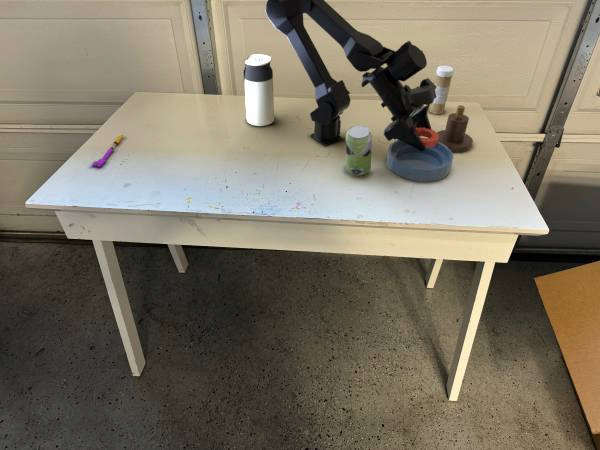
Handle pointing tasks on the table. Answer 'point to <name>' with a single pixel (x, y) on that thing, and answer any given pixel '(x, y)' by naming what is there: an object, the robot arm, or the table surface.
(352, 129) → the beverage can
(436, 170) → the dish
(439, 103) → the sprinkles bottle
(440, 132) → the ring stand
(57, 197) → the table surface
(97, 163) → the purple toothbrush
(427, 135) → the ring
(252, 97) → the travel mug
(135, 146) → the table surface
